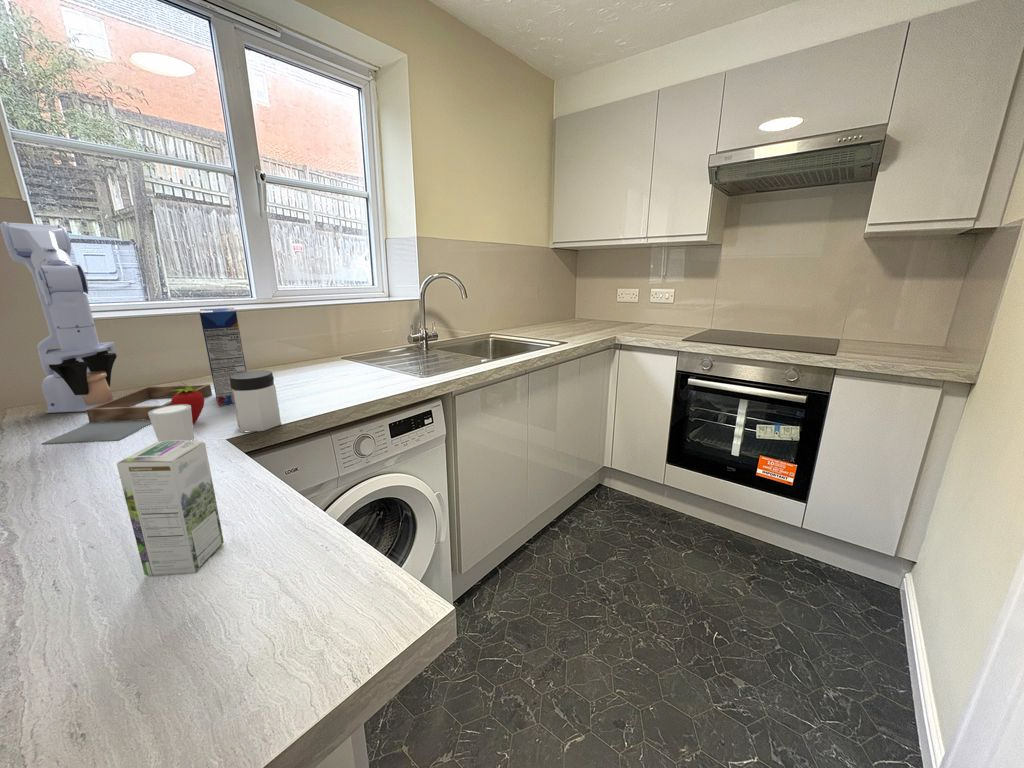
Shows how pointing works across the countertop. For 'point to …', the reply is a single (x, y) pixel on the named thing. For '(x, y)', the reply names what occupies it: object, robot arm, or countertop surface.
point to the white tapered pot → (172, 422)
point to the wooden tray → (122, 405)
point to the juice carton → (223, 349)
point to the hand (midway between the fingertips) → (93, 390)
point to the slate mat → (101, 432)
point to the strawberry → (189, 400)
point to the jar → (255, 400)
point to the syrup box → (172, 506)
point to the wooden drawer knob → (97, 389)
